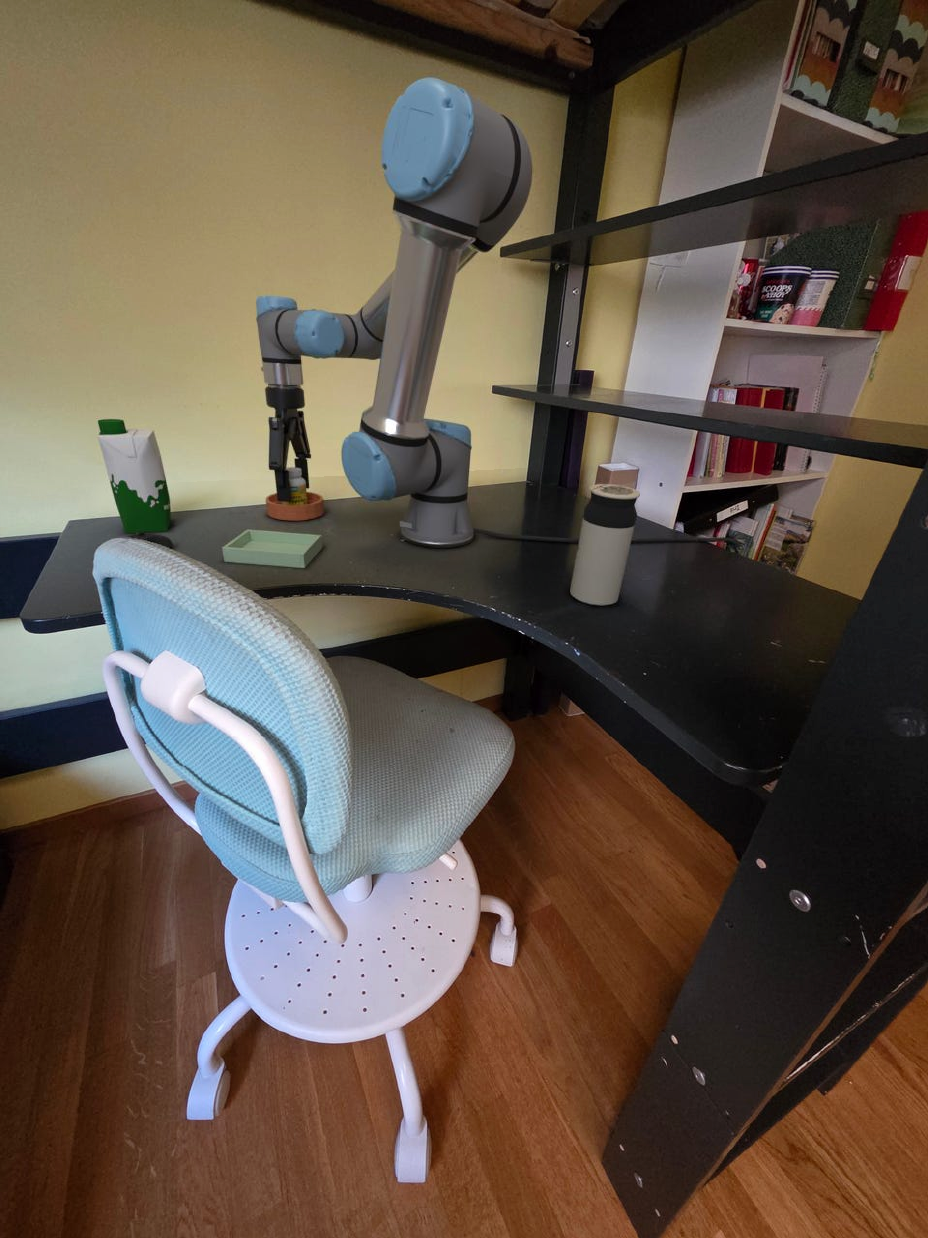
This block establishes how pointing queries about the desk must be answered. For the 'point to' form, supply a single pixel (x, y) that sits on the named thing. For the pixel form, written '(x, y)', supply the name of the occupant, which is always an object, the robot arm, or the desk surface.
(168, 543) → the game controller
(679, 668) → the desk surface
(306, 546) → the tray
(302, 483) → the supplement bottle
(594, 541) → the travel mug
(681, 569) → the desk surface
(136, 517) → the milk carton
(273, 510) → the bowl
